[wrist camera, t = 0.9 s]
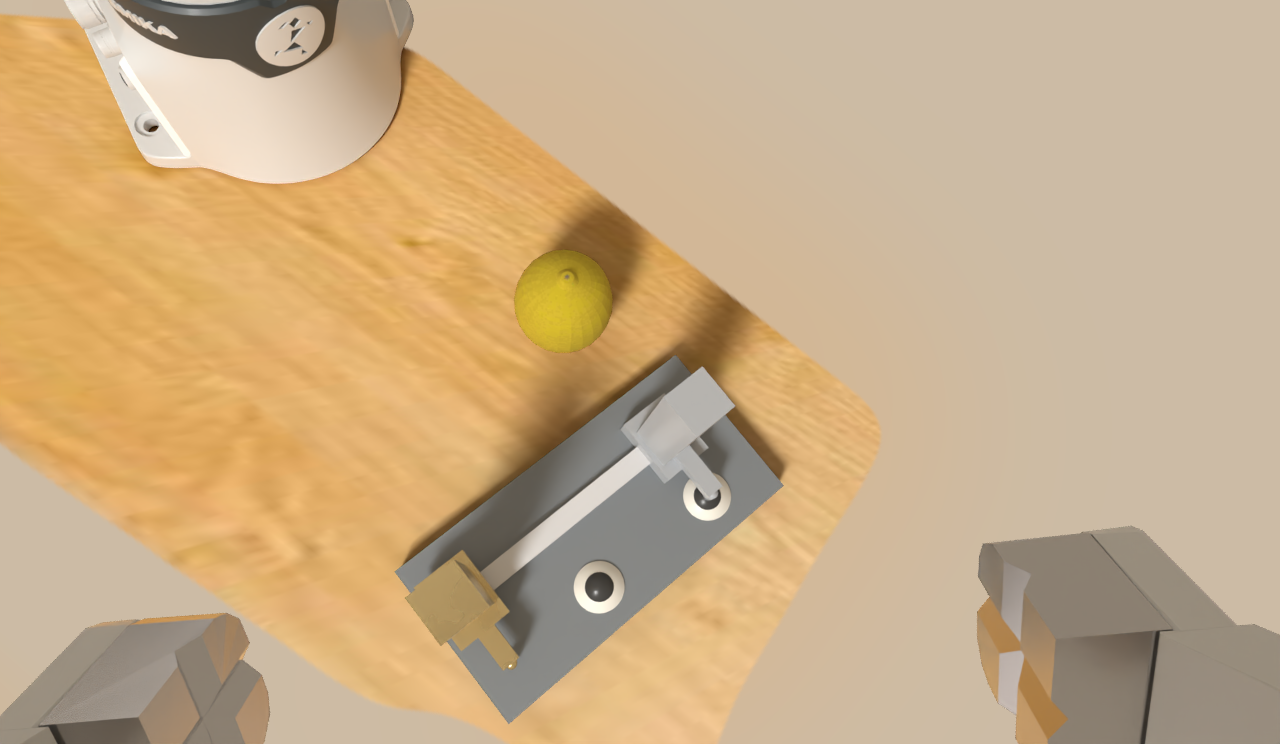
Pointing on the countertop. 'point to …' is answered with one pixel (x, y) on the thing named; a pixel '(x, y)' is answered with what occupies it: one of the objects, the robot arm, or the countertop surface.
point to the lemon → (563, 301)
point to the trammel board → (602, 527)
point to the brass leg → (463, 609)
